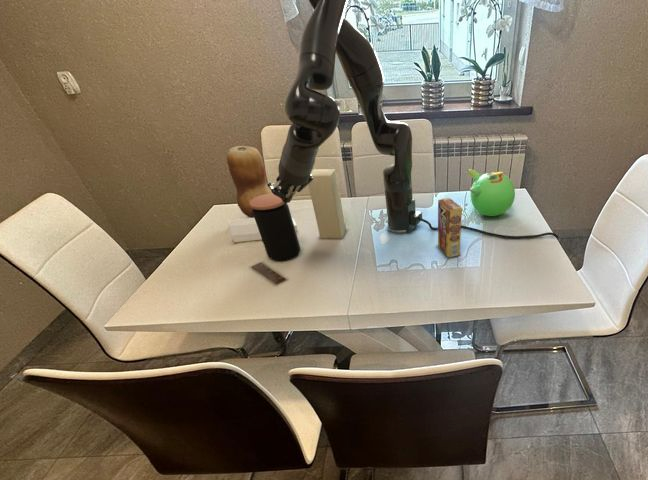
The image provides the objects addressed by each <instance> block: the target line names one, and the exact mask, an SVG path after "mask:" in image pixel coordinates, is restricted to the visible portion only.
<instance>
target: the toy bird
mask: <svg viewBox="0 0 648 480" xmlns="http://www.w3.org/2000/svg"><path fill="white" fill-rule="evenodd" d="M467 171H468V173H469V175H470V176H471V178H472V179H473V183H472V185H471V187H470V189H469V192H470V202H471V204H472V206H473V208H474V209H475V210H476V211H477V213H479V214H481V215H482V216H483V215H484V216H486V217H487V216H488V217H496V216H500V215H502V214H505V213H506V212H508V211H509V210H510V209H511V207H512V206H513V204H514V201H515V199H516V197H515V196H516V191H515V186H514V183H513V181H512V180H511V178H510V177H508V176H507V175H506V174H504V173H505V172H504V171H497V172H494V171H491V172H487V173H484V174H482V173H479V172H478V171H476V170H474V169H471V168H469V169H468V170H467Z"/></svg>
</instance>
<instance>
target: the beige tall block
mask: <svg viewBox="0 0 648 480" xmlns="http://www.w3.org/2000/svg"><path fill="white" fill-rule="evenodd" d="M311 176H312V177H313V180H312V181H311V182H310V183H309V184H308V185H307V186H308V190H309V194H310V197H311V203H312V207H313V211H314V215H315V220H316V224H317V229H318V234H319V238H320V239H343V237H344V235H345V234H346V231H347V228H346V221H345V216H344V215H345V214H344V209H343V203H342V198H341V193H340V187H339V186H340V185H339V181H338V175H337V169H336V168H322V169H321V168H313V169H312V172H311Z"/></svg>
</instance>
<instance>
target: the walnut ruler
mask: <svg viewBox="0 0 648 480" xmlns="http://www.w3.org/2000/svg"><path fill="white" fill-rule="evenodd" d="M251 267H252V268H253V270H256V271H257V272H258V273H259V274H262V275H263V276H264V277H266V278H267V279H268V280H270V281H271V282H273V283H275V284H276V285H278V284H280V283H282V282H284V281H286V278H285V277H283V276H282V275H280V274H279V273H277V272H276V271H274V270H272V269H271V268H270V267H268V266H267V265H265V264H264V263H262V262H258V263H256V264H254V265H252V266H251Z"/></svg>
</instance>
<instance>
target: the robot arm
mask: <svg viewBox="0 0 648 480" xmlns="http://www.w3.org/2000/svg"><path fill="white" fill-rule="evenodd" d="M308 2H309V4H310V5H311V7H312V9H313V12H312V13H311V14H310V17H309V18H308V20H307V22H306V24H305V26H304V28H303V32H302V35H301V38H300V45H299V54H298V55H299V56H298V65H297V71H296V75H295V78H294V79H293V82H292V84H291V86H290V88H289V90H288V93H287V95H286V97H285V98H286V99H285V102H284V111H285V114H286V116H287V119H288V120H289V121H290V123H291V124H290V126H289V127H288V130H287V136H286V140H285V143H284V145H283V147H282V151H281V155H280V158H279V163H278V168H277V169H278V176H277V177H276V179H275V182H273V183H272V182H268V183H267V186H268V187H269V189H270V190H271V192H272V193H273V194H274V195H276V196H278V197H279V198H281V199H282V201H283V202H284V203H285V204H286V203H287V204H288V203H291V201H292V199H293V198H294V195H296V193H300V192H302V191H303V190H304V189H305V188H306V187H307V186H309V185H308V184H309V183H310V182H311V181H312V180H313V177H312V176H311V172H312V170H313V169H314V167H315V163H316V158H317V155H318V152H319V149H320V147H321V146H322V145H323V144H324V143H325V142H326V141H328V140H329V138H330V137H332V135H333V134H334V133H335V131H336V129H337V128H338V126H339V124H340V123H339V122H340V118H341V112H340V111H341V110H340V106H339V104H338V102H337V101H336V100H335V99H334V98H333V97H331V96H329V95H326V94H324V93H322V92H324V91H325V92H326V91H328V90H329V89H330V88H331V87H332V86H333V83H334V77H335V65H336V56H337V59H338V60H339V63H340V65H341V68H342V70H343V73H344V75H345V77H346V79H347V81H348V84H349V86H350V88H351V90H352V93H353V94H354V96H355V98H356V101H357V103H358V105H359V108H360V110H361V113H362V114H363V118H364V120H365V123H366V125H367V128H368V131H369V134H370V137H371V139H372V143H373V145H374V147H375V149H376V151H377V152H378V153H379V154H381V155H384V156H390V157H394V161H393V163H394V164H391V165H388V166H386V167H385V168H384V169H383V170H382V178H383V187H384V197H385V205H386V206H385V207H386V216H387V217H386V218H387V220H386V221H387V228H388V231H389V232H390V233H393V234H410V233H411V232H412V231H413V230H415V228H416V227H417V226H418V225H419V224H420V223H421V222H423V223H425V224H427V225H428V227H429V229H431V230H432V231H438V227H433V226H432V224H431V222H430V221H428V220H427V219H424V218H423V211H419V210H417V209H416V199H414V198H413V181H412V172H413V171H412V170H413V134H412V130H411V128H410V126H409V124H407V123H405V122H402V121H401V122H400V121H390V120H388V119H387V118H386V116H385V113H384V111H383V108H382V96H383V91H384V84H385V83H384V82H385V76H384V73H383V70H382V66H381V64H380V61H379V58H378V55H377V51H376V50H375V48H374V46H373V44H372V43H371V42H370V41H369V40H368V39H367V38H366V36H365V35H363V33H362V32H360V31H359V30H358V29H357V28H356V27H355V26H354V25H352V23H351V22H349V20H347V19H346V17H345V16H344V15H345V12H346V7H347V4H348V0H308ZM461 229H465V230H470V231H473V232H477V233H480V234H484V235H488V236H493V237H497V238H504V239H513V240H514V239H535V238H540V237H545V236H553V237H555V238H556V239H559V238H560V237H559V235H558V234H557V233H554V232H550V231H549V232H543V233H539V234H533V235H532V234H530V235H529V234H528V235H507V234H499V233H494V232H490V231H485V230H482V229H478V228H475V227H470V226H466V225H462V224H461Z"/></svg>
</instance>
